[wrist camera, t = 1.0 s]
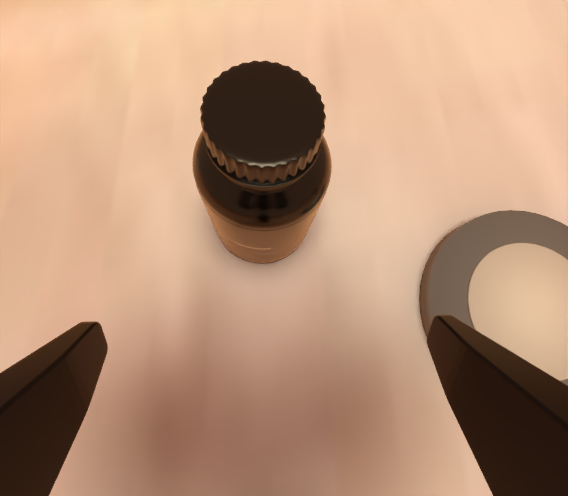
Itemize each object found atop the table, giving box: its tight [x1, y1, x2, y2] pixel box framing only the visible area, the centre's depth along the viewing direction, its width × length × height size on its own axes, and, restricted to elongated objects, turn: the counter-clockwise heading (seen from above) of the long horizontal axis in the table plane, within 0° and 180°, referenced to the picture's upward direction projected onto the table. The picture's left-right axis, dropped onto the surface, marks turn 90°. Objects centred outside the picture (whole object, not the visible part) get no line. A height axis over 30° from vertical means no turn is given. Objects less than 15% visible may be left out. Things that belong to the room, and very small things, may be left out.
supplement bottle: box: [193, 61, 331, 263], centre depth 18 cm, size 7×7×12 cm
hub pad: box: [420, 210, 568, 385], centre depth 22 cm, size 14×14×2 cm
